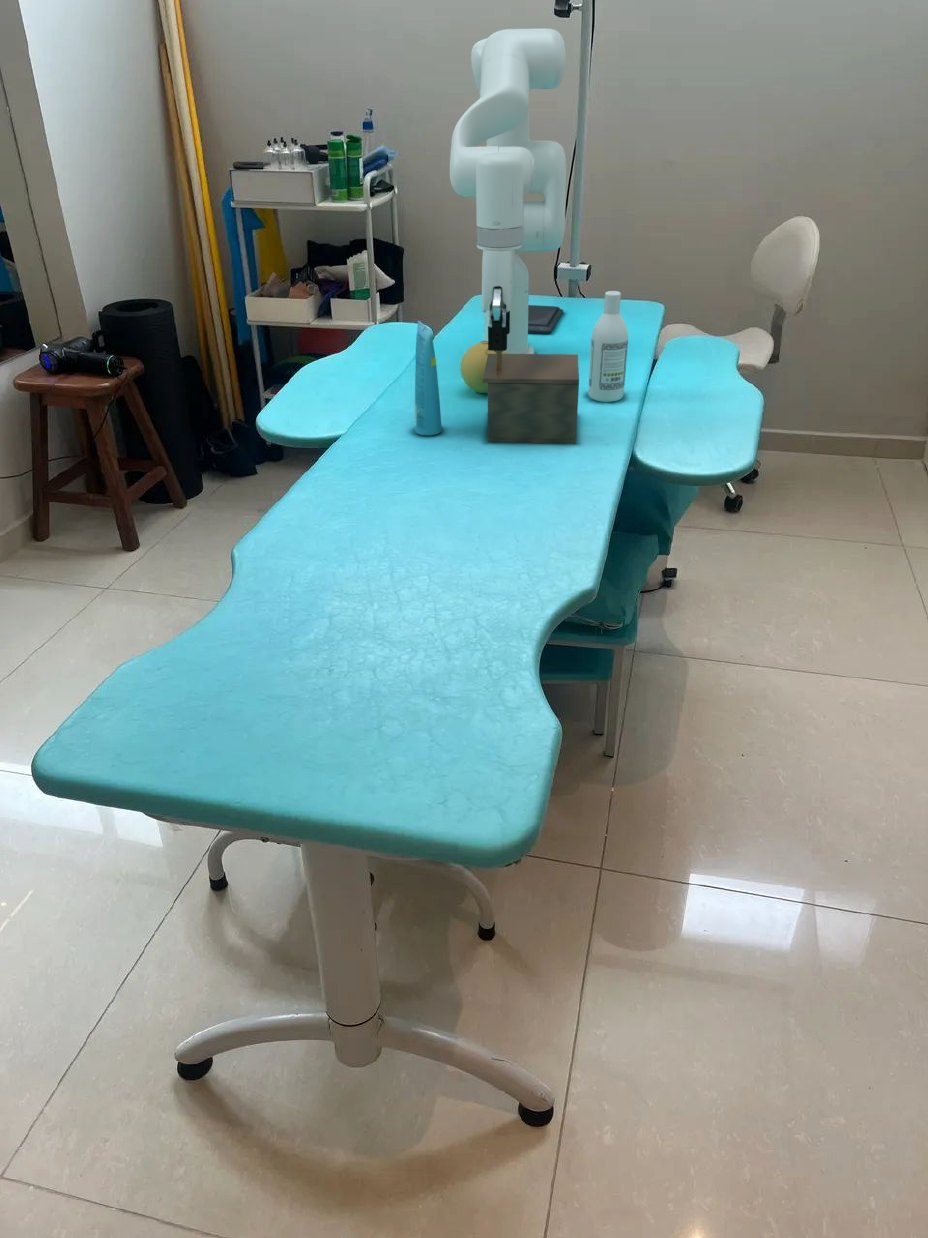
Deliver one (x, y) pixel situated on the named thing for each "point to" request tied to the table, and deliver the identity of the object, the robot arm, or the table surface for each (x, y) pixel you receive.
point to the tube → (426, 385)
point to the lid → (532, 368)
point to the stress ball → (476, 366)
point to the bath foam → (608, 352)
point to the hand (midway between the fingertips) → (499, 341)
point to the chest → (532, 412)
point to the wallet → (543, 318)
